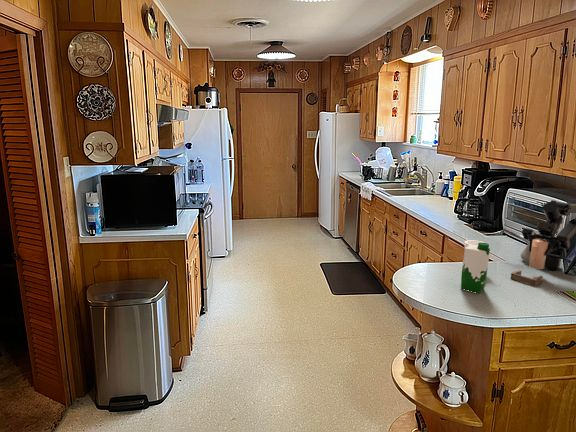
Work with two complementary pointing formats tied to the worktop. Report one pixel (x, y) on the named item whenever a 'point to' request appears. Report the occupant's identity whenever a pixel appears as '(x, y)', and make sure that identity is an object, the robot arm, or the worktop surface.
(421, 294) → the worktop surface
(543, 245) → the jug
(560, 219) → the robot arm
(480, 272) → the milk carton
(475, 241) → the foam cup
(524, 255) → the coffee pot
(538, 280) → the jug cradle
